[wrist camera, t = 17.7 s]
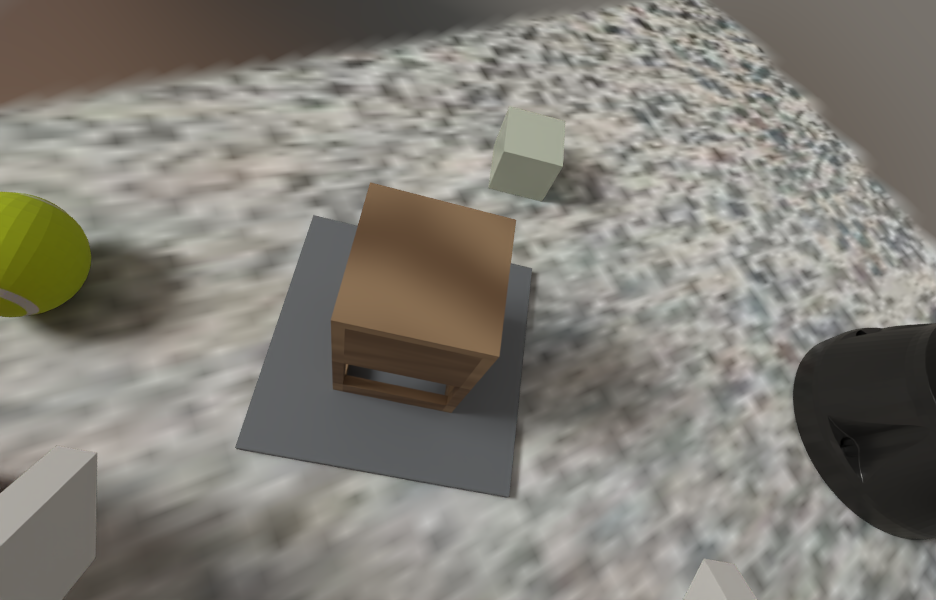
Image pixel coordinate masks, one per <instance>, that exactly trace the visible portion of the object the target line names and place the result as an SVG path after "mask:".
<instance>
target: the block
mask: <svg viewBox="0 0 936 600" xmlns="http://www.w3.org/2000/svg"><path fill="white" fill-rule="evenodd" d="M564 137H565V121H563V120H559V119H555V118H552V117H548V116H544V115H541V114H537V113H533V112H529V111H526V110H522V109H518V108H515V107H511V106H509V108H508V111H507V113H506V116H505V118H504V121H503V124H502V126H501V129H500V131H499V134H498V137H497V139H496V142H495V144H494V149H493V157H492V164H491V172H490V179H489V187H488V188H489V189H493V190H497V191H501V192H505V193H509V194H513V195H517V196H521V197H525V198H529V199H533V200H537V201H541V202H542V201H543V199H544V198H545V196H546V194H547V192H548V191H549V189H550V187H551V186H552V184H553V182H554V181H555V179H556V177H557V176H558V174H559V172H560V170H561V169H562V167H563V156H564Z"/></svg>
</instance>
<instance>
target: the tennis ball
mask: <svg viewBox="0 0 936 600" xmlns="http://www.w3.org/2000/svg"><path fill="white" fill-rule="evenodd" d="M90 266H91V251H90V247H89V242H88V239H87V237H86V235H85V233H84V231H83V230H82V228H81V226H80V225H79V224H78V223H77V222H76V221H75V220H74V219H73V218H72V217H71V216H69V215H68V214H67V213H66V212H65V211H64V210H63V209H61V208H60V207H58V206H57V205H55V204H53V203H51V202H49V201H47V200H45V199H42V198H40V197H36V196H33V195H28V194H23V193H14V192H0V316H2V317H21V316H26V315H35V314H39V313H44V312H47V311H49V310H51V309H54V308H56V307H58V306H60V305H61V304H63V303H64V302H66V301H67V300H69V299H70V298H72V297H73V296H74V295H75V294H76V293H77V292H78V291H79V290H80V288H81V287H82V285H83V283H84V282H85V280H86V278H87V276H88V273H89V270H90Z"/></svg>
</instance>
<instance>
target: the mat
mask: <svg viewBox="0 0 936 600" xmlns="http://www.w3.org/2000/svg"><path fill="white" fill-rule="evenodd" d="M357 227H358V226H356V225H352V224H348V223H344V222H339V221H335V220H331V219H327V218H323V217H319V216H315V215H313V218H312V221H311V224H310V227H309V230H308V233H307V236H306V239H305V242H304V245H303V248H302V251H301V254H300V257H299V260H298V263H297V266H296V269H295V272H294V275H293V278H292V281H291V284H290V287H289V290H288V293H287V295H286V298H285V301H284V304H283V307H282V310H281V313H280V316H279V319H278V322H277V325H276V328H275V331H274V334H273V337H272V340H271V343H270V346H269V349H268V352H267V355H266V358H265V361H264V364H263V367H262V370H261V373H260V375H259V378H258V381H257V384H256V387H255V390H254V393H253V396H252V399H251V402H250V405H249V408H248V411H247V414H246V417H245V420H244V423H243V426H242V429H241V432H240V435H239V438H238V441H237V444H236V447H235V448H236V449H240V450H246V451H251V452H257V453H262V454H268V455H274V456H279V457H285V458H290V459H296V460H301V461H307V462H313V463H318V464H324V465H329V466H335V467H340V468H346V469H352V470H357V471H363V472H368V473H374V474H379V475H385V476H390V477H396V478H402V479H407V480H413V481H418V482H424V483H429V484H435V485H441V486H446V487H452V488H457V489H463V490H468V491H474V492H480V493H485V494H491V495H496V496H502V497H509V494H510V484H511V474H512V464H513V454H514V444H515V433H516V423H517V413H518V403H519V393H520V383H521V373H522V363H523V353H524V343H525V333H526V323H527V313H528V303H529V293H530V283H531V273H532V268H528V267H524V266H520V265H516V264H512V263H511V265H510V273H509V282H508V290H507V298H506V306H505V314H504V323H503V331H502V339H501V347H500V355H499V358H498V359H497V360H496V361H495V362H494V364H493V365H492V366H491V367H490V368H489V369H488V371H487V372H486V373H485V374H484V375H483V377H482V378H481V379H480V380H479V381H478V382H477V384H476V385H475V386H474V387H473V388H472V389H471V391H470V392H469V393H468V394H467V395H466V396H465V398H464V399H463V400H462V401H461V402H460V403H459V405H458V406H457V407H456V408H455V409H454V410H453V412H452V413H449V412H444V411H439V410H433V409H428V408H423V407H418V406H413V405H408V404H403V403H398V402H393V401H388V400H383V399H378V398H373V397H368V396H363V395H358V394H353V393H348V392H343V391H338V390H333V381H332V348H331V317H332V314H333V310H334V307H335V303H336V300H337V296H338V293H339V289H340V286H341V283H342V279H343V276H344V272H345V269H346V265H347V262H348V258H349V255H350V251H351V248H352V244H353V241H354V237H355V234H356V230H357ZM347 375H349V376H353V377H358V378H363V379H368V380H373V381H378V382H383V383H388V384H393V385H398V386H402V387H407V388H412V389H417V390H422V391H427V392H432V393H437V394H442V395H445V390H446V385H445V384H440V383H436V382H431V381H426V380H421V379H416V378H411V377H407V376H402V375H397V374H392V373H387V372H383V371H378V370H373V369H368V368H363V367H358V366H354V365H349V369H348V372H347Z"/></svg>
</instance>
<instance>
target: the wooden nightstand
mask: <svg viewBox="0 0 936 600" xmlns="http://www.w3.org/2000/svg"><path fill="white" fill-rule="evenodd" d="M515 224H516V220H515V219H511V218H507V217H503V216H499V215H495V214H491V213H487V212H483V211H480V210H476V209H472V208H468V207H464V206H460V205H456V204H452V203H448V202H444V201H440V200H437V199H433V198H429V197H425V196H421V195H417V194H413V193H409V192H405V191H401V190H398V189H394V188H390V187H386V186H382V185H378V184H374V183H370V185H369V189H368V192H367V196H366V199H365V202H364V206H363V209H362V213H361V216H360V220H359V223H358V227H357V230H356V234H355V237H354V241H353V244H352V248H351V251H350V255H349V258H348V262H347V265H346V269H345V272H344V276H343V279H342V283H341V286H340V289H339V293H338V296H337V300H336V303H335V307H334V310H333V314H332V317H331V348H332V381H333V390H338V391H343V392H348V393H353V394H358V395H363V396H368V397H373V398H378V399H383V400H388V401H393V402H398V403H403V404H408V405H413V406H418V407H423V408H428V409H433V410H439V411H444V412H449V413H452V412H453V410H454V409H455V408H456V407H457V406H458V405H459V403H460V402H461V401H462V400H463V399H464V398H465V396H466V395H467V394H468V393H469V392H470V391H471V389H472V388H473V387H474V386H475V385H476V384H477V382H478V381H479V380H480V379H481V378H482V377H483V375H484V374H485V373H486V372H487V371H488V369H489V368H490V367H491V366H492V365H493V364H494V362H495V361H496V360H497V359H498V358H499V355H500V347H501V339H502V331H503V323H504V314H505V306H506V298H507V290H508V282H509V273H510V265H511V257H512V249H513V241H514V232H515ZM349 365H354V366H358V367H363V368H368V369H373V370H378V371H383V372H387V373H392V374H397V375H402V376H407V377H411V378H416V379H421V380H426V381H431V382H436V383H440V384H445V385H446V390H445V395H442V394H437V393H432V392H427V391H422V390H417V389H412V388H407V387H402V386H398V385H393V384H388V383H383V382H378V381H373V380H368V379H363V378H358V377H353V376H349V375H347V372H348V369H349Z"/></svg>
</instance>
